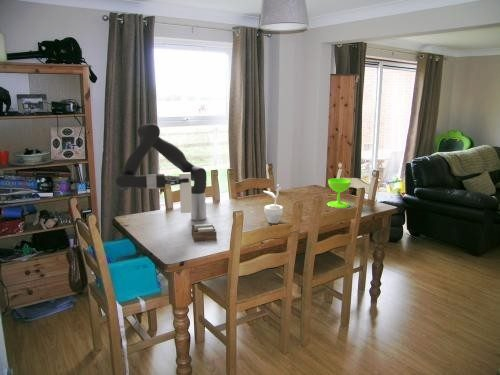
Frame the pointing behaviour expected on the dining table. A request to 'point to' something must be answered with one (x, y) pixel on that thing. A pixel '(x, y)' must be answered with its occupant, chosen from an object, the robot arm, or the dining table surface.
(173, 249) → the dining table surface
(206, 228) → the offcut stack
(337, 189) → the wineglass
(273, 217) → the potted plant
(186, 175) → the tall board
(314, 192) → the dining table surface
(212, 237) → the offcut rack
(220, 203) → the dining table surface
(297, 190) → the dining table surface
